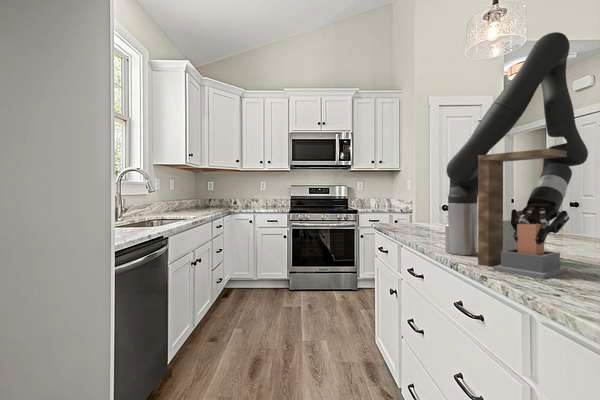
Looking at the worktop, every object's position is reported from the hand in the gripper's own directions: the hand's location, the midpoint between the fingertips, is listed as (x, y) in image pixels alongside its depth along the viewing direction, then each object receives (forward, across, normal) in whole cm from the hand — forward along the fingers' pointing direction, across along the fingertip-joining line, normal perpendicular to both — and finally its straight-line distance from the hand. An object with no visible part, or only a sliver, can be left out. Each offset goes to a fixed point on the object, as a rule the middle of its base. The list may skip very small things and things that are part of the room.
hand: (527, 241), depth 93 cm
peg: (+2, 0, +5) cm, 5 cm away
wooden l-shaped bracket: (+4, -3, +8) cm, 9 cm away
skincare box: (-7, -12, +18) cm, 23 cm away
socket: (+4, 0, +7) cm, 8 cm away
